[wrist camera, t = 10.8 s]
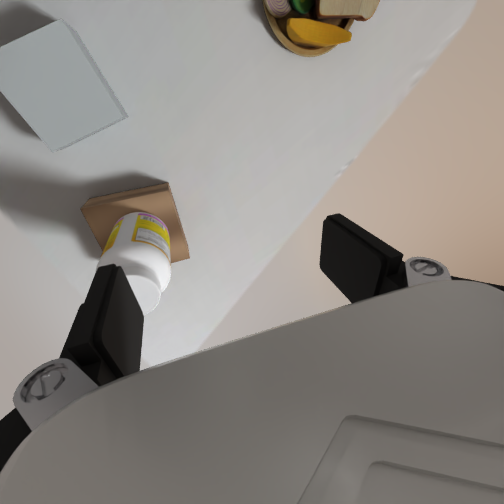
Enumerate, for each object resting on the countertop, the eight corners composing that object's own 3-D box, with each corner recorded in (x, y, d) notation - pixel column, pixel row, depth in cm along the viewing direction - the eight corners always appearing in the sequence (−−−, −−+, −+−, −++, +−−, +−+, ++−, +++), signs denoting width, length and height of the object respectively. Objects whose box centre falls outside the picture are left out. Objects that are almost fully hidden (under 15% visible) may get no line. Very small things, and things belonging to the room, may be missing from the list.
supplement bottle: (124, 261, 33) (103, 335, 22) (104, 215, 29) (68, 276, 19) (175, 251, 34) (179, 315, 23) (162, 205, 31) (160, 256, 20)
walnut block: (89, 198, 31) (80, 208, 28) (168, 182, 33) (168, 190, 30) (121, 262, 37) (116, 277, 33) (187, 245, 39) (189, 258, 35)
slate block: (0, 66, 24) (-27, 59, 20) (75, 31, 24) (61, 18, 21) (65, 147, 28) (52, 152, 25) (128, 116, 29) (123, 117, 25)
